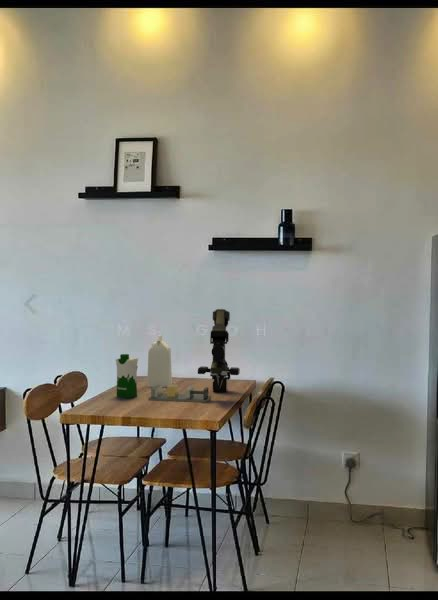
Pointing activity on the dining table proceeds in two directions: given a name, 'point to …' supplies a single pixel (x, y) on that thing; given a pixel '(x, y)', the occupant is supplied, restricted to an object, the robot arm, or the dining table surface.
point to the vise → (158, 395)
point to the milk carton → (126, 376)
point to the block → (172, 391)
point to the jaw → (195, 392)
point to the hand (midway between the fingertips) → (218, 389)
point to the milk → (159, 364)
